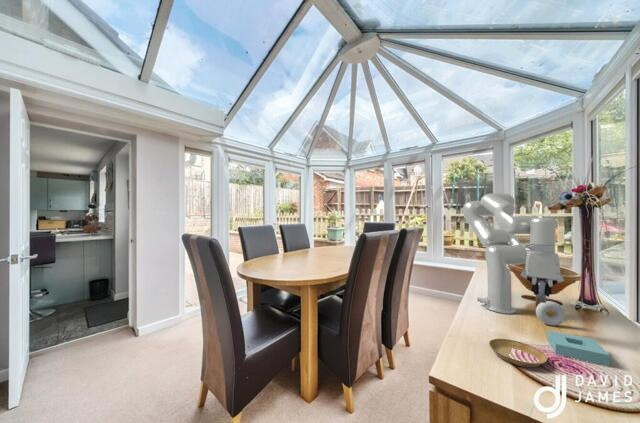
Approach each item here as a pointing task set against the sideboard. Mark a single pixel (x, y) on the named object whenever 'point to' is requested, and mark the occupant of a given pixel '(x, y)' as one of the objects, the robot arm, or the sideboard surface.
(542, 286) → the steel pin
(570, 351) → the slot block
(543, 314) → the donut
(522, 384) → the sideboard surface
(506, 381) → the sideboard surface
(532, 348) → the plant saucer
